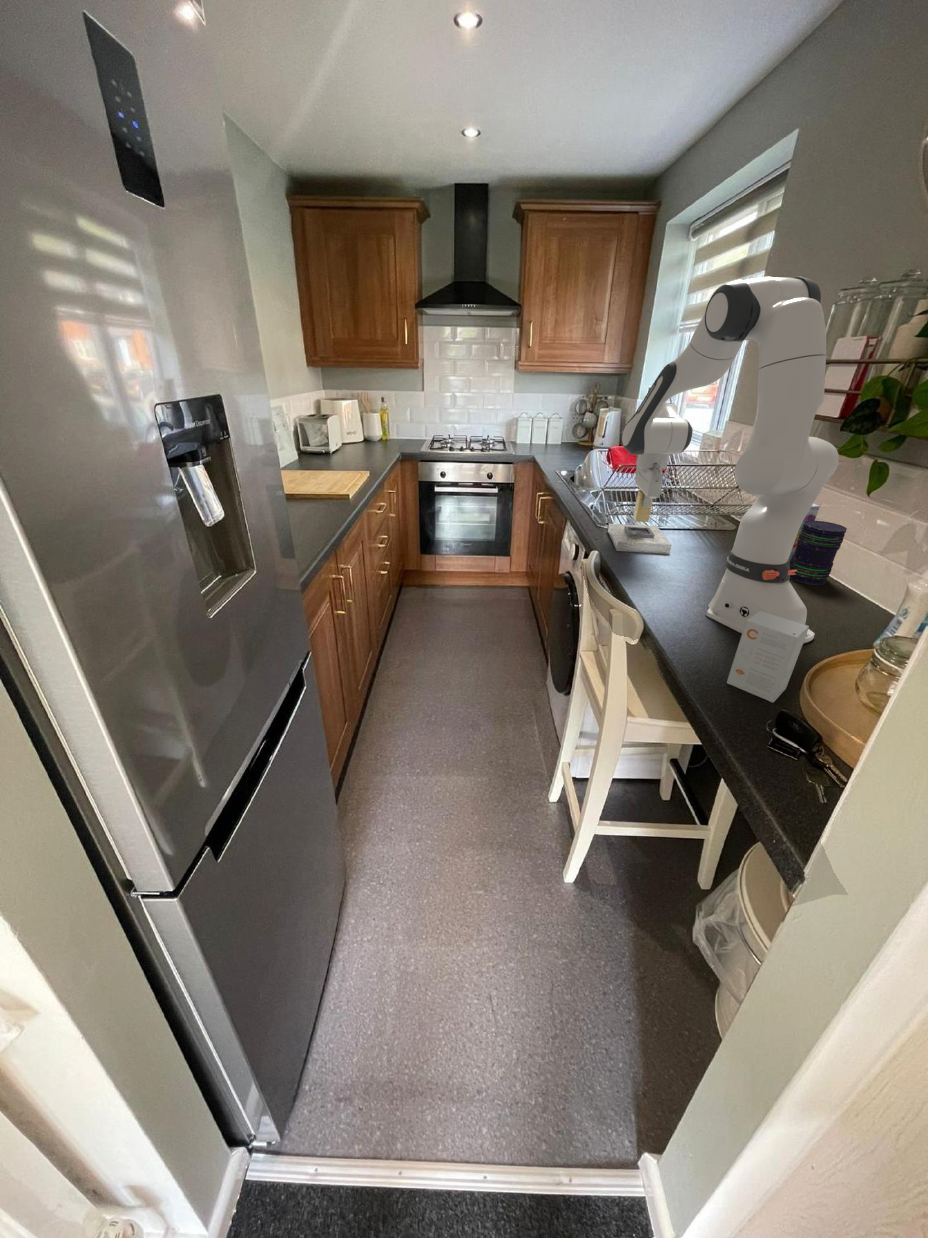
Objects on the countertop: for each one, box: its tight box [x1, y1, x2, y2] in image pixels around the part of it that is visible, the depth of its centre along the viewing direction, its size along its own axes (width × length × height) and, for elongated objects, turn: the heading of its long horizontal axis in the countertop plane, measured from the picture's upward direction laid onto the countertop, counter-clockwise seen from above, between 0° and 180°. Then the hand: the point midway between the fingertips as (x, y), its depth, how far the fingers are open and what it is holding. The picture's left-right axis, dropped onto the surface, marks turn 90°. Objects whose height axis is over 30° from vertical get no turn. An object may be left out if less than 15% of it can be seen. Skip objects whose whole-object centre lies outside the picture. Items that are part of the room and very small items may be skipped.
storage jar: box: [789, 520, 848, 586], centre depth 134 cm, size 10×10×15 cm
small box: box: [726, 611, 810, 704], centre depth 86 cm, size 8×6×13 cm
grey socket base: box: [607, 523, 673, 555], centre depth 161 cm, size 20×16×4 cm
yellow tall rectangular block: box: [632, 489, 654, 523], centre depth 156 cm, size 4×4×9 cm
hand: (643, 505), depth 156 cm, fingers closed on yellow tall rectangular block, 4 cm apart
